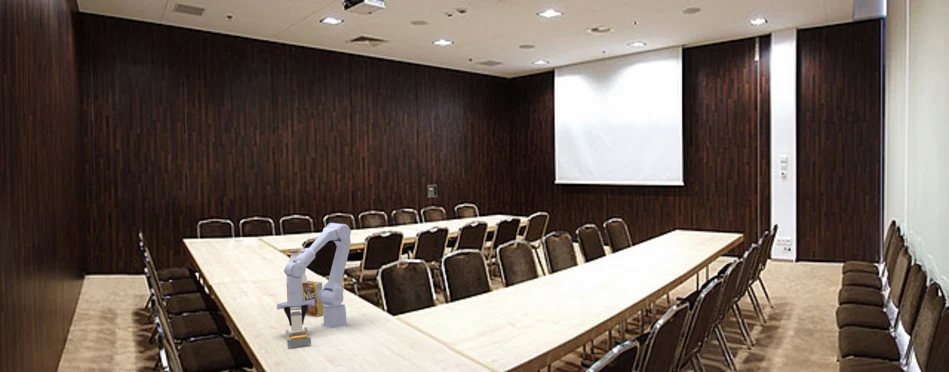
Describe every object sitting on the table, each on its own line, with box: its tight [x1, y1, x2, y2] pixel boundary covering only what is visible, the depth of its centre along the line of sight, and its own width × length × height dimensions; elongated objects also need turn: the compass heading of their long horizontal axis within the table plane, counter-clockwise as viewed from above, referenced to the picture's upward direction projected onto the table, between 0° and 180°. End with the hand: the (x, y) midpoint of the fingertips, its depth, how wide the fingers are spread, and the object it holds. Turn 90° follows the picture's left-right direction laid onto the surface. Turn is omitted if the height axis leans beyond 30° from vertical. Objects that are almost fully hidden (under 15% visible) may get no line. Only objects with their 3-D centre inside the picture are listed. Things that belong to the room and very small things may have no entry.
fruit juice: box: [286, 248, 308, 311], centre depth 285 cm, size 9×9×28 cm
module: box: [290, 310, 303, 332], centre depth 240 cm, size 4×7×6 cm, turn 20°
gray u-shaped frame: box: [285, 327, 312, 350], centre depth 235 cm, size 11×22×4 cm, turn 20°
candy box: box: [302, 280, 323, 318], centre depth 271 cm, size 9×4×15 cm, turn 60°
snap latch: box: [290, 334, 307, 340], centre depth 228 cm, size 6×2×3 cm, turn 110°
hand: (296, 324), depth 240 cm, fingers closed on module, 4 cm apart
